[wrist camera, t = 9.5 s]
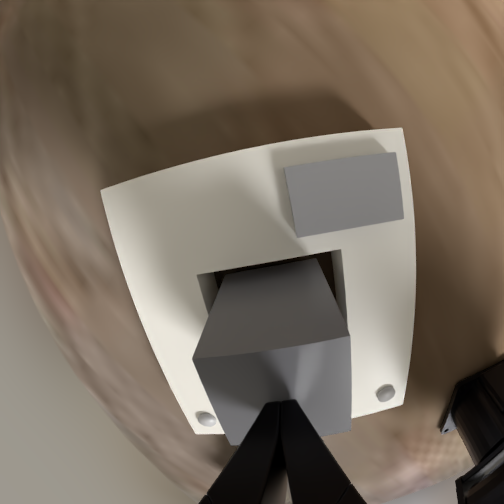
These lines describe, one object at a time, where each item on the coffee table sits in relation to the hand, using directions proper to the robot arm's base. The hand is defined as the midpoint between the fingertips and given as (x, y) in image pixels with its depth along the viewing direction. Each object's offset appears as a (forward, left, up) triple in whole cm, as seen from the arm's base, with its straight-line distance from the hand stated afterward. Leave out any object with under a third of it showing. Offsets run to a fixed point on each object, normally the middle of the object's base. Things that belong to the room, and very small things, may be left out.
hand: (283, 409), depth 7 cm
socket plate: (0, 0, -7) cm, 7 cm away
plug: (0, 0, -7) cm, 7 cm away
